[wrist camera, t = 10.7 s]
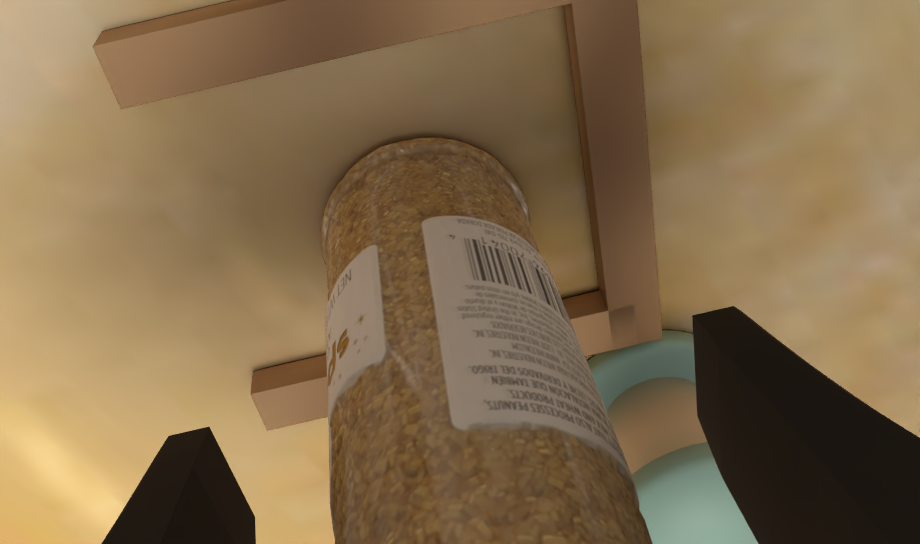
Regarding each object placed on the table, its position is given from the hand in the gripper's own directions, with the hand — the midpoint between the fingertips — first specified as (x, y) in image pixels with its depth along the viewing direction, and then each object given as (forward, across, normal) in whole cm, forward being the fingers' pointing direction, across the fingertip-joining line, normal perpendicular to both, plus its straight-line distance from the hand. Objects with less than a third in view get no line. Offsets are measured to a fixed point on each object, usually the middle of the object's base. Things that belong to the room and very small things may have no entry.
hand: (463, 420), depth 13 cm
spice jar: (+7, 0, +1) cm, 7 cm away
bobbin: (+7, -4, +8) cm, 11 cm away
